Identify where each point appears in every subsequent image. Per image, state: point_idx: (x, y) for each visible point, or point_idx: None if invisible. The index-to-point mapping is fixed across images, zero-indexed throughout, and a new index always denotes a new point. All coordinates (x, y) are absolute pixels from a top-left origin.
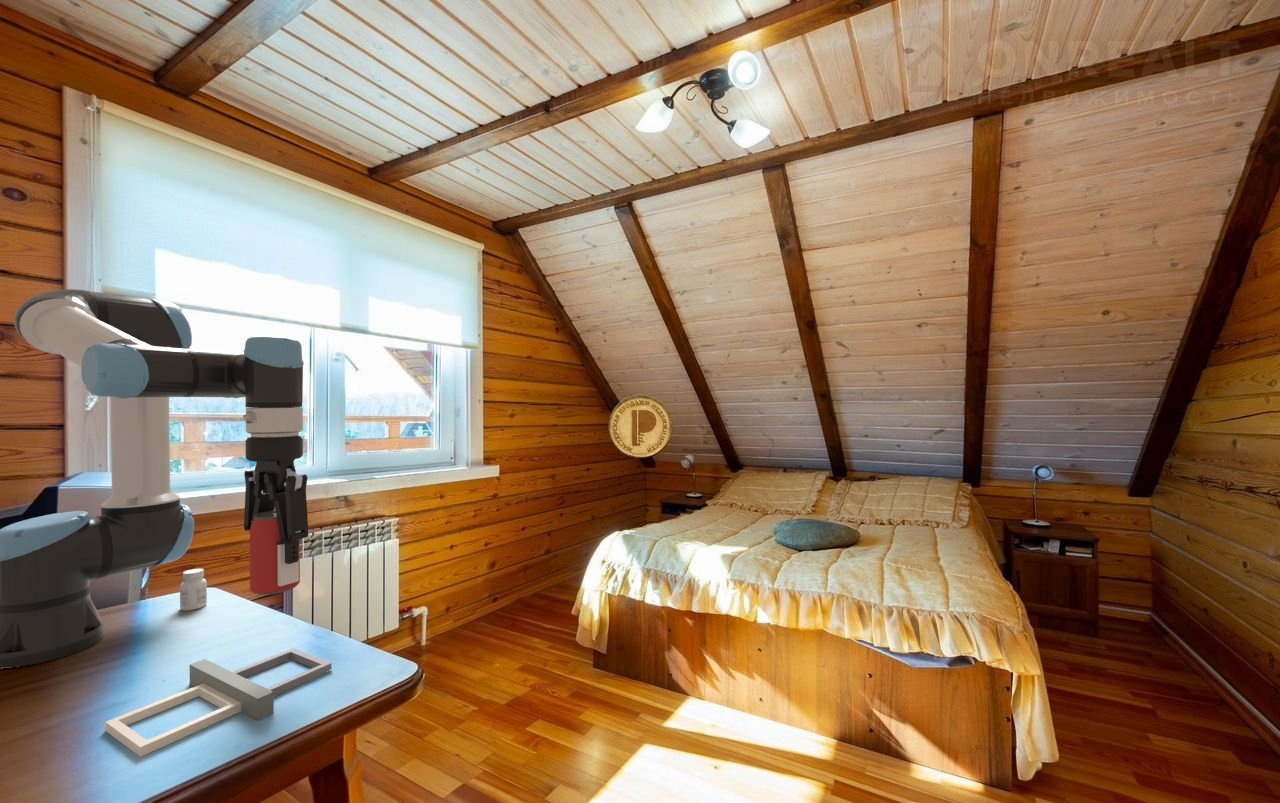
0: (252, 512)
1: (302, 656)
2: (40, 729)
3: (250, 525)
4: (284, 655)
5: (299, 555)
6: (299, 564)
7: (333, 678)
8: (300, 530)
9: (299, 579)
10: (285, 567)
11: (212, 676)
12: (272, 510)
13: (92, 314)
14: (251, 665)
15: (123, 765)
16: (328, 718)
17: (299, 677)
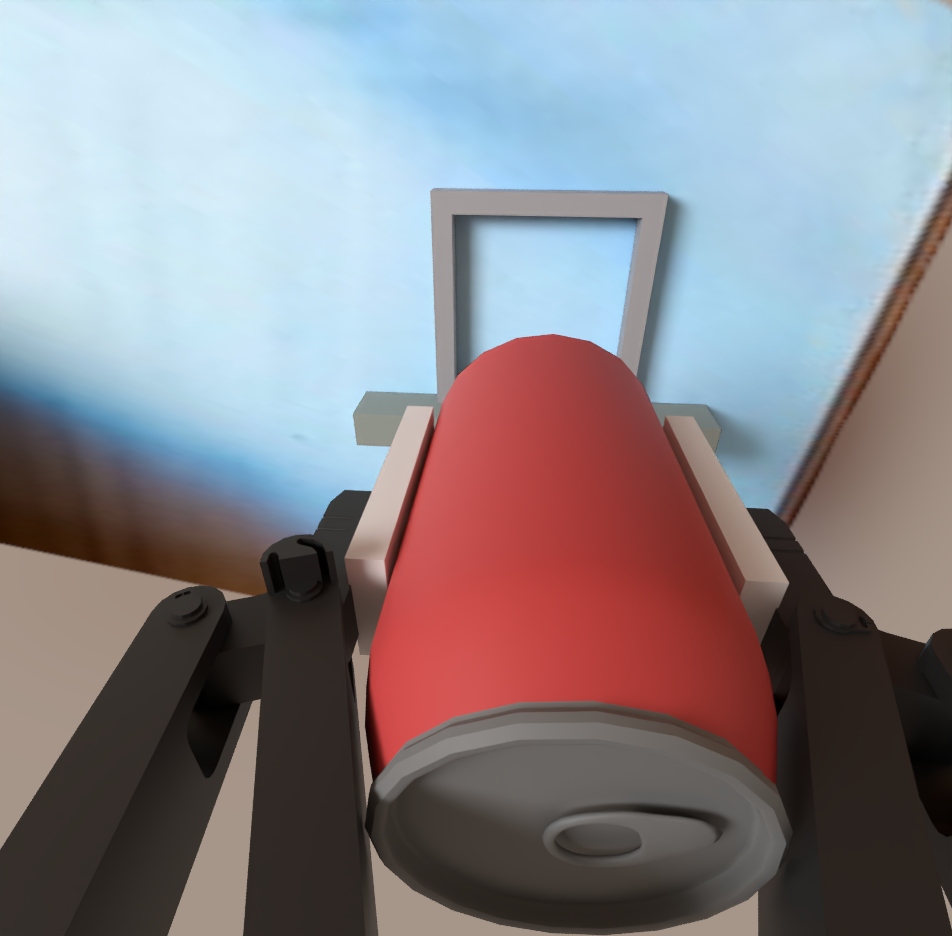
0: (192, 819)
1: (526, 215)
2: None
3: (245, 702)
4: (451, 235)
5: (654, 435)
6: (642, 406)
7: (713, 222)
8: (887, 670)
9: (626, 368)
10: None
11: None
12: (355, 799)
13: None
14: (441, 329)
15: None
16: (870, 361)
17: (648, 304)
